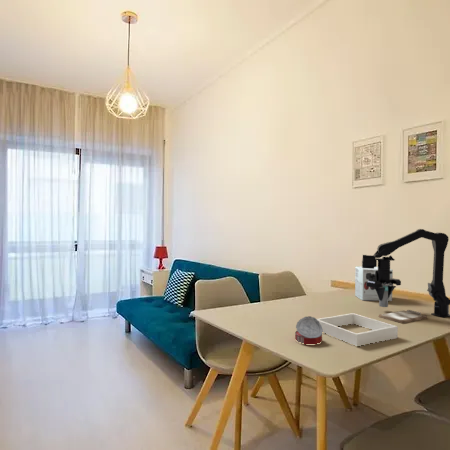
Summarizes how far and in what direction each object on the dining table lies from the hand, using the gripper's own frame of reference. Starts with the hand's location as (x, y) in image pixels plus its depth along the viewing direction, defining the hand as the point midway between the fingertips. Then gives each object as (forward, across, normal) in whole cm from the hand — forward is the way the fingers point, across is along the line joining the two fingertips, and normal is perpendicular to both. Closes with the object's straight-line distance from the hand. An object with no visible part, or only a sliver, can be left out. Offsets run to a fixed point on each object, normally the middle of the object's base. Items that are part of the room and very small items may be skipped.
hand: (383, 300), depth 176 cm
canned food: (+6, +63, +17) cm, 66 cm away
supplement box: (+6, -20, -23) cm, 31 cm away
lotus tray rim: (+6, +41, +19) cm, 46 cm away
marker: (+3, 0, 0) cm, 3 cm away
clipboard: (+6, +2, +12) cm, 13 cm away
